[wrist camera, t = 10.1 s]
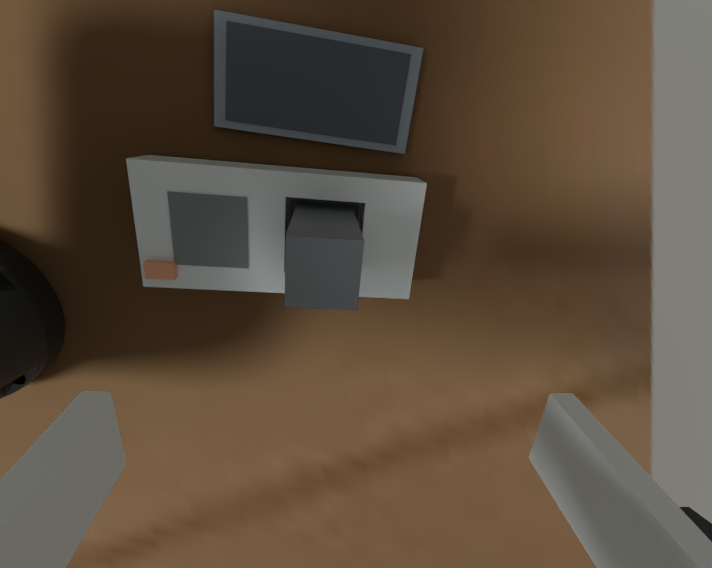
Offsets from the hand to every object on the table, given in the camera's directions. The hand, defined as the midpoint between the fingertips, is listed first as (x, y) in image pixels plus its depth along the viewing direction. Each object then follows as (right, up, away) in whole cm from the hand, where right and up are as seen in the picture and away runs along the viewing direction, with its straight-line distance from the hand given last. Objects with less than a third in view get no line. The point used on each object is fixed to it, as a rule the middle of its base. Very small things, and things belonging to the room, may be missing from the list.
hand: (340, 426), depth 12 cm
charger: (-2, +9, +19) cm, 21 cm away
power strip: (-5, +9, +19) cm, 22 cm away
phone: (-2, +19, +16) cm, 24 cm away
